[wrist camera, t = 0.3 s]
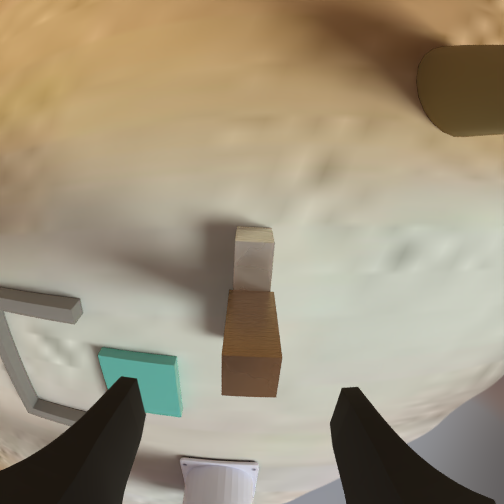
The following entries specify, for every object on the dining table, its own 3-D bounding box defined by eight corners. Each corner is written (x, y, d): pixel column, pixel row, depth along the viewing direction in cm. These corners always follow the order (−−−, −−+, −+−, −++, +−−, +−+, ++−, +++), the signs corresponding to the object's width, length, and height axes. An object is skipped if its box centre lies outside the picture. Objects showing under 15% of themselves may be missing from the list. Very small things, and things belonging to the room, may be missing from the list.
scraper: (264, 340, 22) (270, 432, 14) (229, 338, 22) (221, 430, 14) (275, 228, 19) (290, 297, 12) (233, 225, 19) (222, 294, 11)
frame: (116, 425, 26) (112, 436, 25) (33, 403, 26) (28, 412, 24) (80, 298, 21) (71, 309, 19) (-13, 285, 20) (-23, 293, 19)
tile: (183, 404, 25) (181, 417, 24) (118, 395, 25) (113, 406, 24) (177, 352, 23) (174, 365, 21) (104, 343, 23) (97, 355, 21)
